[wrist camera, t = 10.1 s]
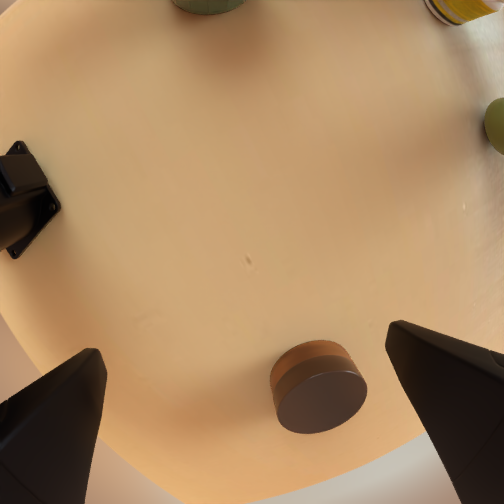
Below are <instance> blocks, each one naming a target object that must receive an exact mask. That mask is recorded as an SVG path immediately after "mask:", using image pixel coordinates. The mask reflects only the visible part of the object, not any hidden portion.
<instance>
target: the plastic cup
mask: <svg viewBox="0 0 504 504" xmlns="http://www.w3.org/2000/svg"><path fill="white" fill-rule="evenodd" d="M172 1H173V3H174V4H175V5H176V6H178V7H179V8H181V9H183V10H185V11H188V12H191V13H195V14H205V15H208V14H219V13H223V12H227V11H230V10H232V9H235V8H236V7H238V6H240V5H241V4H243V3H244V2H245V1H246V0H172Z"/></svg>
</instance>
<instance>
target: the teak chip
mask: <svg viewBox="0 0 504 504" xmlns="http://www.w3.org/2000/svg"><path fill="white" fill-rule="evenodd" d="M321 355H338V356H342V357H345V358H347V359H349V360H351V361H352V362H353V360H352V359H351V357H350V356H349V354H348V352H347V351H346V350H345V349H344V348H343V347H342V346H341V345H339V344H337V343H335V342H331V341H325V340H318V341H311V342H307V343H303V344H301V345H298V346H296V347H294V348H292V349H291V350H289V351H288V352H286V353H285V354H284V355H283V356H282V357H281V358H280V359H279V360H278V361H277V362H276V363H275V365H274V367H273V369H272V371H271V375H270V385H271V389H272V394H273V393H274V389H275V386H276V384H277V382H278V381H279V379H280V378H281V377H282V376H283V375H284V374H285V373H286V372H287V371H288V370H289V369H290V368H292V367H293V366H295V365H296V364H298V363H300V362H302V361H304V360H307V359H309V358H312V357H316V356H321ZM353 363H354V362H353ZM355 366H356V365H355Z"/></svg>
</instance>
